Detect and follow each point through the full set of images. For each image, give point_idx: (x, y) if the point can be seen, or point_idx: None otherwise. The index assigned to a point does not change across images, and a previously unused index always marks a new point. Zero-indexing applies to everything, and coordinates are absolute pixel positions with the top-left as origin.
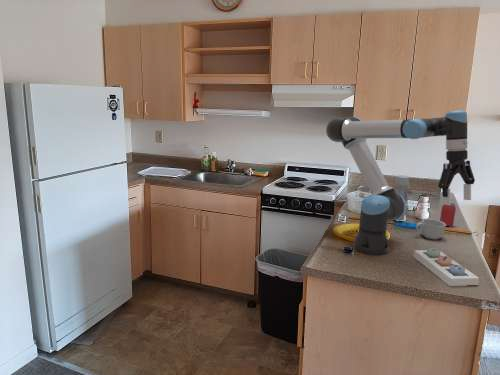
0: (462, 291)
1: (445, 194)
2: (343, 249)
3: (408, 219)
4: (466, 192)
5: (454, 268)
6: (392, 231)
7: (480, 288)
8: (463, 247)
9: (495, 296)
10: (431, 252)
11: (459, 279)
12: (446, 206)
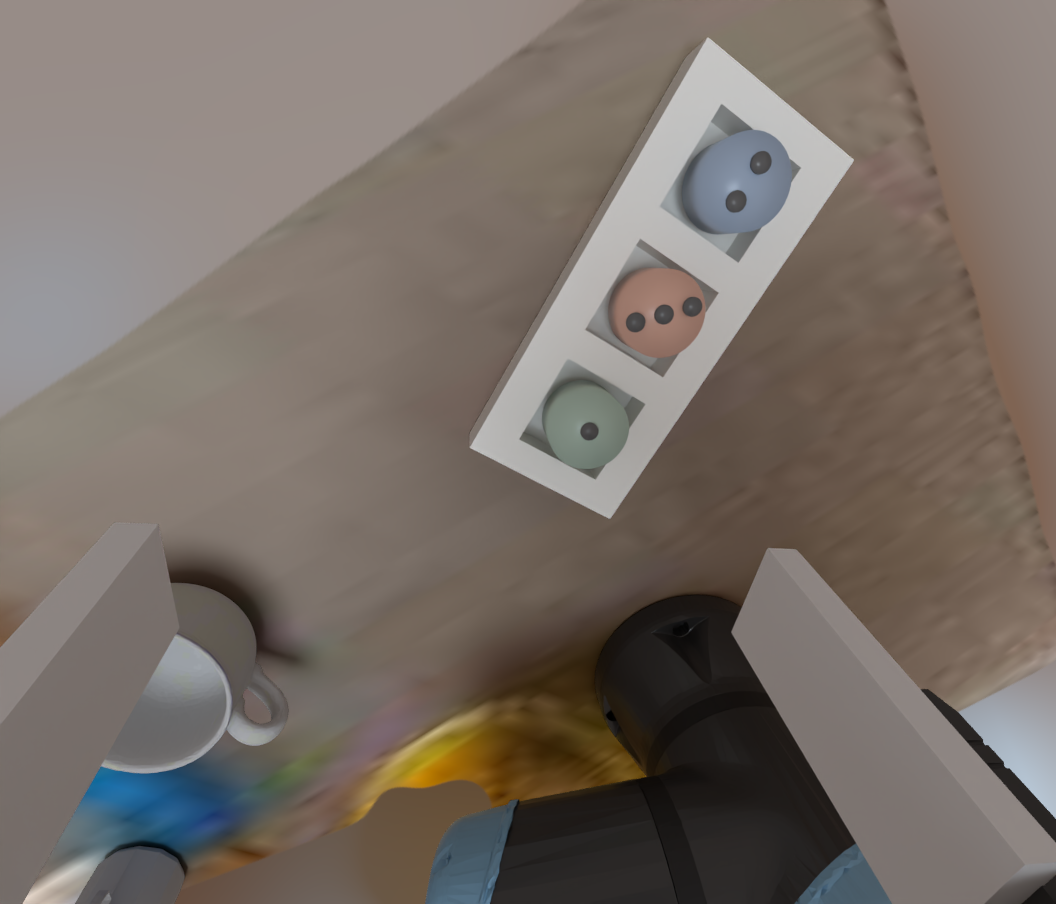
0: (834, 84)
1: (982, 742)
2: None
3: (48, 858)
4: (78, 722)
5: (782, 186)
6: (348, 768)
7: (712, 26)
8: (144, 426)
9: None
10: (628, 422)
11: (808, 126)
12: None
